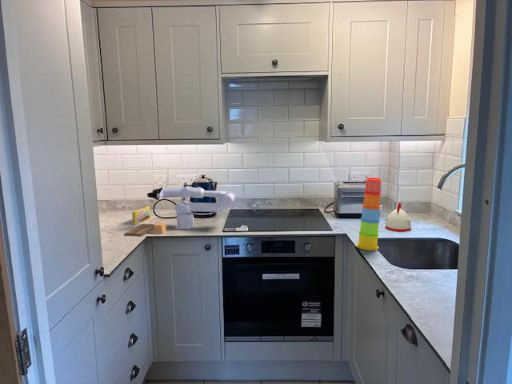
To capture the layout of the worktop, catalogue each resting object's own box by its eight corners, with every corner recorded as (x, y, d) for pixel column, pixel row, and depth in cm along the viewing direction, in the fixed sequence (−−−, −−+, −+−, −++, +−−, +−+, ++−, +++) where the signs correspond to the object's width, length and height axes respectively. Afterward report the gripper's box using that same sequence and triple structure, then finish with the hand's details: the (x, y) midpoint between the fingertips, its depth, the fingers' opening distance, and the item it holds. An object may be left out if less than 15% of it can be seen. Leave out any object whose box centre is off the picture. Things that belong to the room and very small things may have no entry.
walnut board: (158, 226, 227) (158, 224, 226) (141, 236, 207) (140, 234, 207) (143, 225, 229) (142, 223, 229) (124, 235, 210) (124, 233, 209)
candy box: (135, 225, 231) (134, 212, 229) (132, 224, 232) (131, 211, 230) (150, 218, 246) (149, 206, 244) (147, 218, 247) (147, 206, 245)
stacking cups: (372, 243, 191) (375, 176, 185) (382, 250, 181) (386, 179, 175) (353, 244, 189) (356, 176, 183) (362, 251, 179) (365, 180, 173)
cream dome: (412, 227, 219) (414, 202, 217) (408, 233, 208) (410, 207, 205) (387, 224, 226) (389, 200, 224) (382, 230, 215) (384, 204, 212)
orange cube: (166, 231, 216) (165, 223, 215) (162, 234, 212) (161, 225, 211) (158, 231, 217) (157, 222, 217) (154, 233, 213) (153, 225, 212)
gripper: (175, 183, 227) (154, 184, 229) (166, 188, 213) (144, 189, 215) (176, 194, 229) (155, 195, 231) (168, 200, 215) (145, 201, 217)
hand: (150, 193), depth 223 cm, fingers open, 7 cm apart
